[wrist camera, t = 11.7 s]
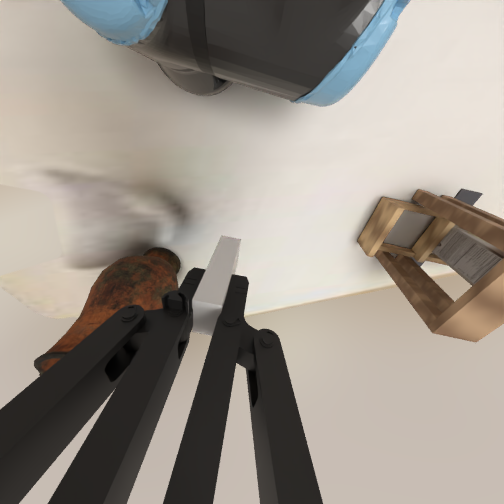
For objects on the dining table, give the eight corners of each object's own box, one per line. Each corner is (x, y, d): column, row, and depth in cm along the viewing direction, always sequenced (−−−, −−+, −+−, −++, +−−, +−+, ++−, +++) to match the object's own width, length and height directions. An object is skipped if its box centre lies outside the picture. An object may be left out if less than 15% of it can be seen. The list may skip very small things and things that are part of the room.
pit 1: (410, 254, 47) (410, 254, 47) (426, 257, 47) (427, 258, 47) (399, 267, 49) (400, 268, 49) (415, 270, 49) (416, 271, 49)
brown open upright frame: (418, 189, 39) (535, 245, 21) (452, 197, 39) (596, 259, 22) (374, 254, 48) (432, 333, 30) (402, 261, 48) (476, 342, 30)
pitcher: (203, 273, 56) (147, 394, 31) (151, 295, 64) (71, 408, 39) (163, 225, 49) (47, 333, 24) (109, 257, 56) (-22, 365, 31)
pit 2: (461, 188, 38) (462, 189, 38) (481, 193, 38) (482, 193, 38) (446, 208, 40) (447, 208, 40) (465, 212, 41) (466, 213, 40)
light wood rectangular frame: (382, 196, 40) (398, 207, 35) (505, 225, 41) (537, 239, 36) (357, 241, 46) (367, 255, 41) (464, 265, 47) (487, 282, 42)
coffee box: (480, 227, 42) (576, 276, 29) (457, 251, 45) (533, 306, 32) (438, 217, 42) (516, 263, 28) (418, 243, 45) (479, 294, 32)
